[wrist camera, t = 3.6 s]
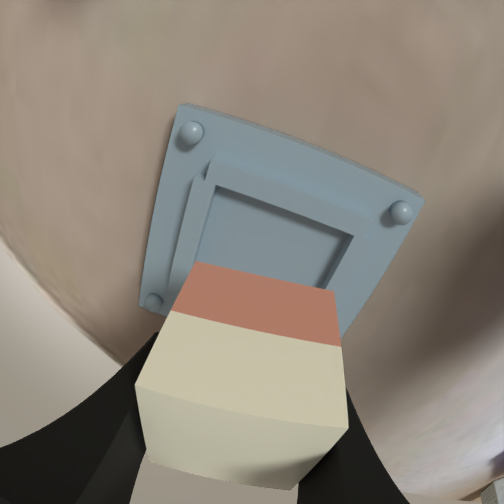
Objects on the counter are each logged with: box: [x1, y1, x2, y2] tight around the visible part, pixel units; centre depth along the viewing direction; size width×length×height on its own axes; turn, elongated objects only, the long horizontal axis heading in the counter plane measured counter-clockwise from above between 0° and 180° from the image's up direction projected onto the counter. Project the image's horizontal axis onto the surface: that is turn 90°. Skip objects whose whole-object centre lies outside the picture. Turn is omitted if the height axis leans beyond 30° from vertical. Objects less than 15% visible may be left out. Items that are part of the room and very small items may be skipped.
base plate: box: [138, 103, 425, 339], centre depth 16 cm, size 12×12×2 cm
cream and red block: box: [135, 261, 349, 490], centre depth 9 cm, size 4×4×5 cm
